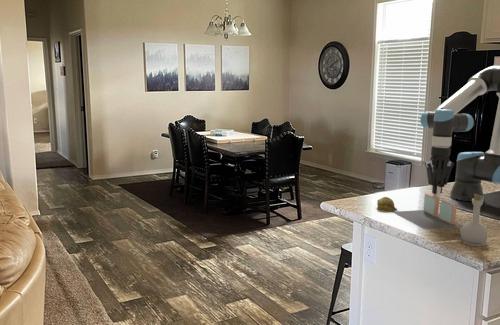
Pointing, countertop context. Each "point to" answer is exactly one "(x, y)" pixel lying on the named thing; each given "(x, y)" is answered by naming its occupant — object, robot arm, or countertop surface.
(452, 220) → the tile
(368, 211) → the countertop surface
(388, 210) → the seashell
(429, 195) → the tile
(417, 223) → the mat
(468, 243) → the potion bottle
